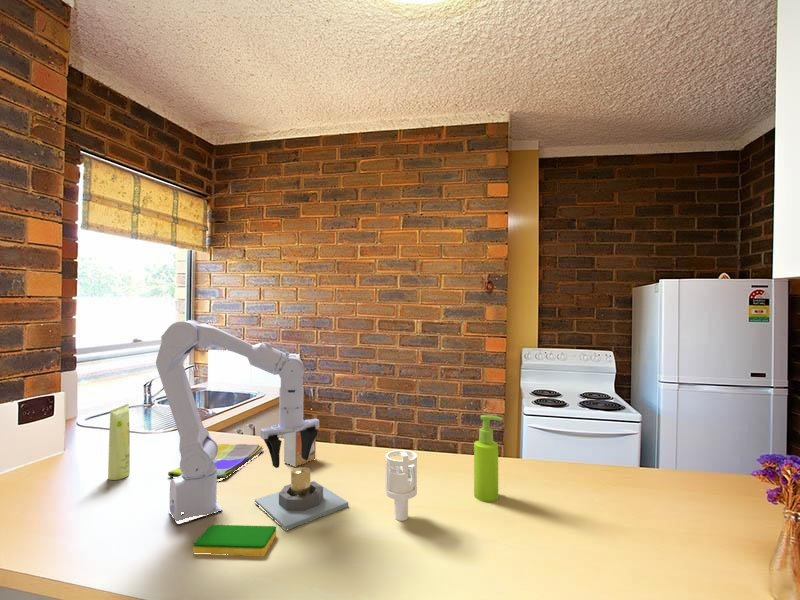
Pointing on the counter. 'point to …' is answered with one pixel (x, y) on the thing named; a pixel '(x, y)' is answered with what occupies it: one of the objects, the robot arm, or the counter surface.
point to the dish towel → (229, 458)
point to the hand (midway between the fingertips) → (290, 462)
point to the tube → (119, 443)
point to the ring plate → (301, 515)
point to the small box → (296, 449)
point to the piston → (300, 482)
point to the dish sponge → (235, 540)
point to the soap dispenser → (486, 462)
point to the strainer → (401, 481)
